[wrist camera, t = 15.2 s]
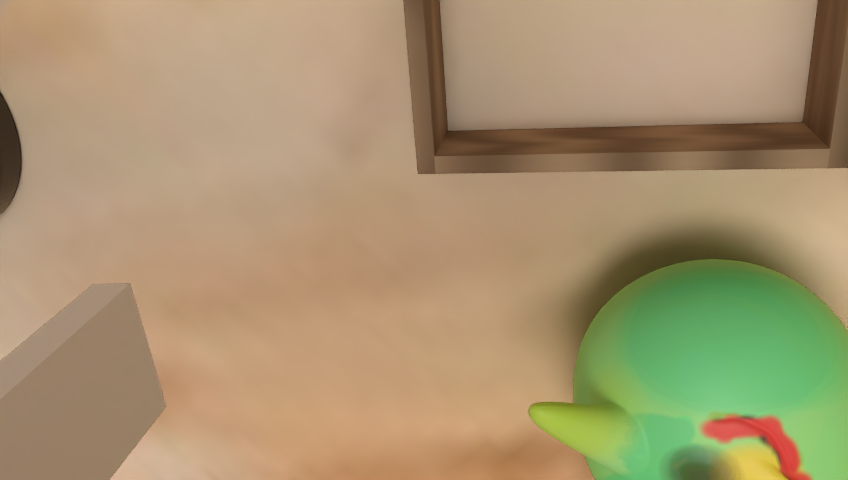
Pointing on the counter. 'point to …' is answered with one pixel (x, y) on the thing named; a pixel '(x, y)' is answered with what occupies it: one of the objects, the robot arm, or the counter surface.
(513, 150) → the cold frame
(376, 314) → the counter surface
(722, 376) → the toy bird
